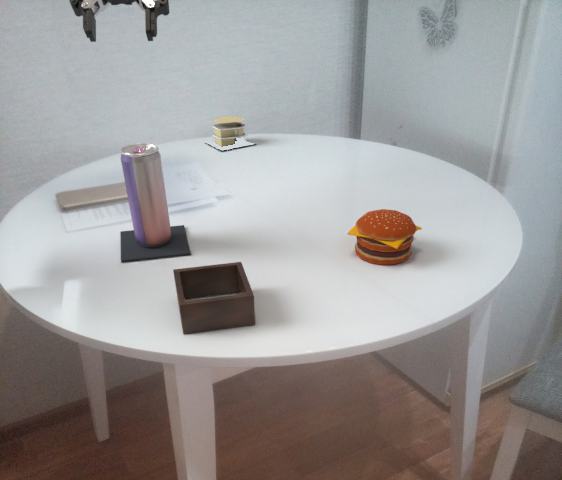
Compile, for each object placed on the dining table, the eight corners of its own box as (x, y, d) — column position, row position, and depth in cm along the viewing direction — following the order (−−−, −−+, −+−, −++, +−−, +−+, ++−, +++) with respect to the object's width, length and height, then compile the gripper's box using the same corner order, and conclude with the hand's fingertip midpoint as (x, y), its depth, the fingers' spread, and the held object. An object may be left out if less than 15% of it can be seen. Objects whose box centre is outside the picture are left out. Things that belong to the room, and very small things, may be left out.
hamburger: (343, 256, 90) (346, 217, 86) (371, 235, 96) (374, 197, 92) (397, 272, 86) (402, 231, 81) (422, 249, 92) (428, 210, 88)
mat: (121, 262, 89) (120, 260, 88) (120, 233, 97) (120, 231, 97) (190, 255, 90) (190, 252, 90) (184, 227, 99) (184, 225, 99)
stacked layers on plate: (221, 152, 131) (219, 127, 127) (203, 142, 137) (201, 118, 133) (257, 144, 135) (256, 120, 132) (238, 135, 141) (237, 112, 138)
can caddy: (183, 334, 73) (179, 305, 70) (177, 297, 80) (173, 269, 77) (255, 324, 75) (254, 295, 72) (242, 289, 82) (241, 261, 79)
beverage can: (130, 247, 92) (112, 153, 83) (145, 231, 96) (129, 141, 87) (163, 250, 91) (149, 156, 81) (177, 235, 95) (165, 144, 86)
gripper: (62, -85, 81) (63, 20, 79) (162, -85, 81) (164, 18, 79) (79, -41, 88) (80, 55, 86) (170, -42, 89) (172, 54, 87)
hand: (120, 37), depth 83 cm, fingers open, 8 cm apart
